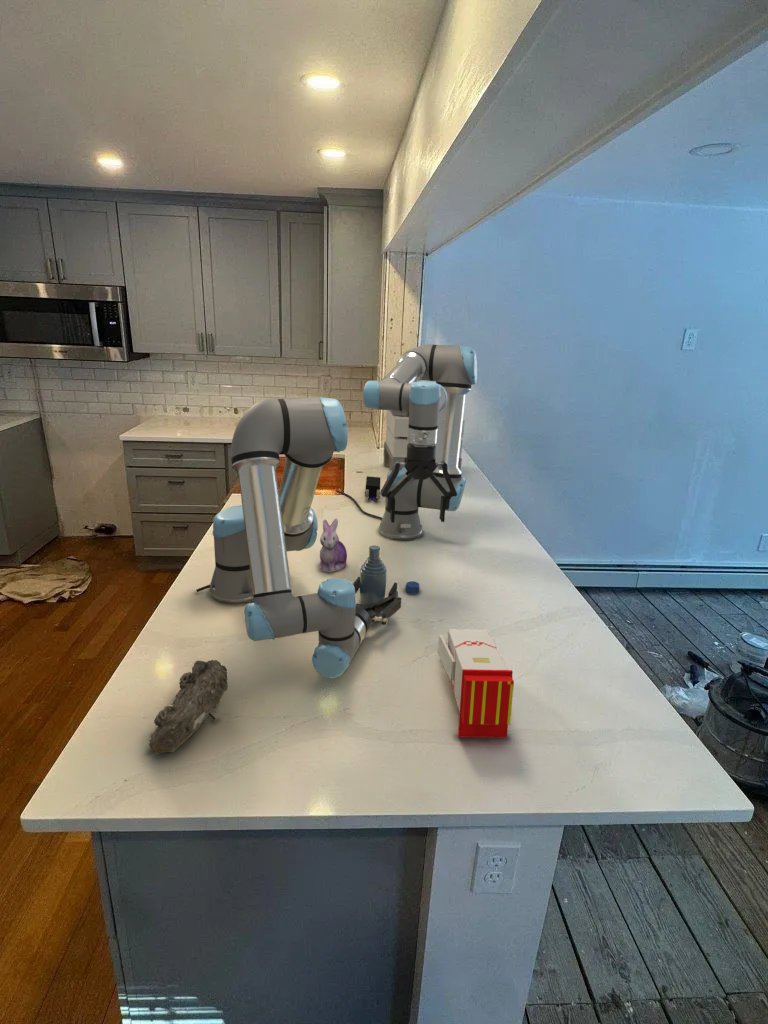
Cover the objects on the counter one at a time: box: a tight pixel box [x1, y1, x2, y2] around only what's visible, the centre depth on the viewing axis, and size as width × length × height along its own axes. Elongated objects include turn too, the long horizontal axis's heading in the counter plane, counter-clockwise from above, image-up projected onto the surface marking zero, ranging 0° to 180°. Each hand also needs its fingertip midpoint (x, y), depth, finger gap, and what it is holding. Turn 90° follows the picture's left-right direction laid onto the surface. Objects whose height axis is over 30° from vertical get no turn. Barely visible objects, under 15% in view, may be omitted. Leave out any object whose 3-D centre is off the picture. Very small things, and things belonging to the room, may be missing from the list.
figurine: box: [319, 518, 348, 573], centre depth 170 cm, size 9×10×15 cm
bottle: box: [358, 544, 388, 615], centre depth 144 cm, size 7×7×19 cm
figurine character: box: [364, 475, 381, 503], centre depth 235 cm, size 7×8×15 cm
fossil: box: [148, 659, 229, 754], centre depth 106 cm, size 22×10×15 cm
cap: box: [405, 580, 420, 595], centre depth 159 cm, size 4×4×2 cm
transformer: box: [383, 410, 465, 472], centre depth 268 cm, size 34×33×41 cm
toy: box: [437, 628, 515, 738], centre depth 117 cm, size 12×13×30 cm
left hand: (377, 584), depth 149 cm, fingers open, 9 cm apart
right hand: (417, 520), depth 153 cm, fingers open, 13 cm apart
